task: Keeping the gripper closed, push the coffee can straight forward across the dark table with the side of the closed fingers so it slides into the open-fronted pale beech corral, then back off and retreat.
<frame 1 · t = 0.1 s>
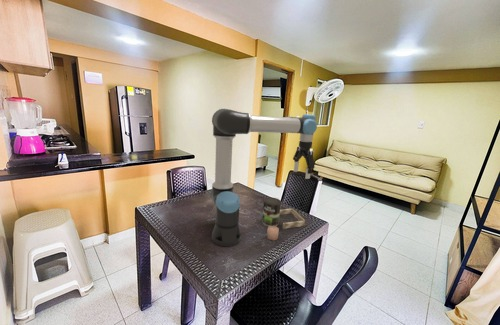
hand: (301, 174, 129), 28 cm above the table, fingers open, 13 cm apart
tan rounded block: (272, 237, 112), on the table
coffee can: (270, 222, 126), on the table
corral: (288, 220, 130), on the table
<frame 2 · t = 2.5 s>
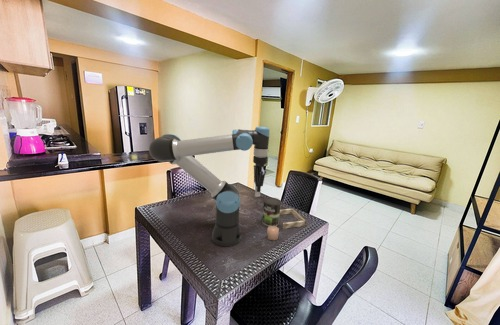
hand: (257, 196, 118), 18 cm above the table, fingers closed
nothing on the table moved.
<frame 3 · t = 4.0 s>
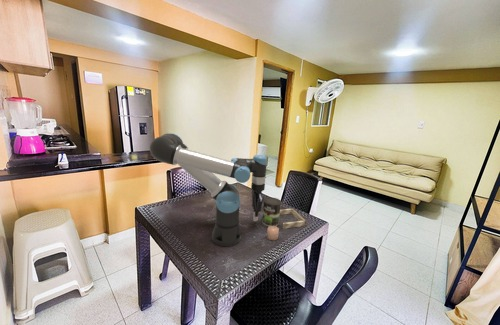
hand: (255, 220, 122), 2 cm above the table, fingers closed
nothing on the table moved.
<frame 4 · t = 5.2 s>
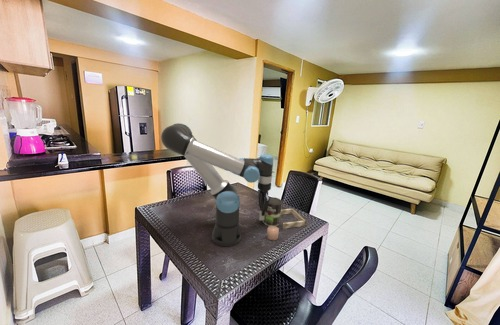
hand: (261, 219, 124), 3 cm above the table, fingers closed
coffee can: (271, 222, 126), on the table, touching gripper
everything else where it was.
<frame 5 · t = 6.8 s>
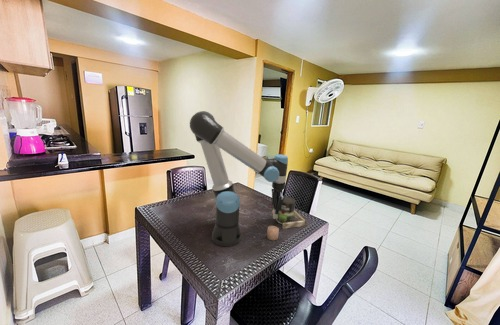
hand: (275, 217, 126), 3 cm above the table, fingers closed
coffee can: (284, 220, 129), on the table, touching gripper
everything else where it was.
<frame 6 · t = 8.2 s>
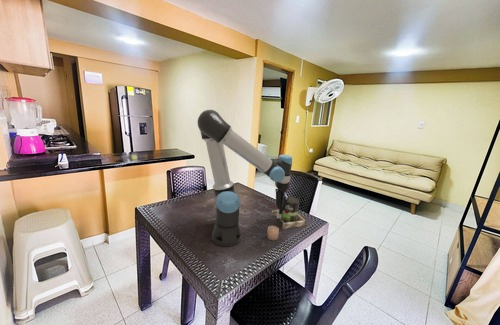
hand: (279, 217, 127), 2 cm above the table, fingers closed
coffee can: (288, 220, 130), on the table
everything else where it was.
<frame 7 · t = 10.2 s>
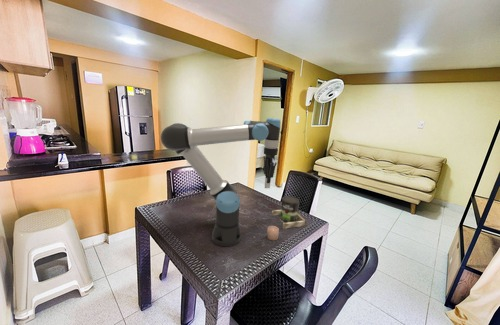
hand: (267, 187, 119), 23 cm above the table, fingers closed
nothing on the table moved.
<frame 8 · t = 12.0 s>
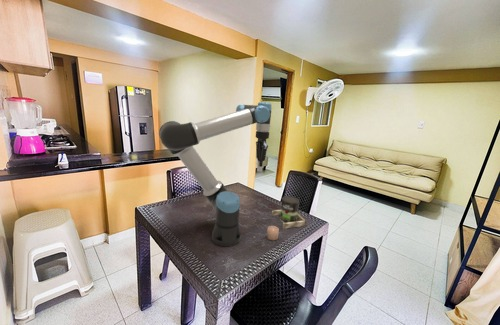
hand: (259, 171, 123), 30 cm above the table, fingers closed
nothing on the table moved.
at the end: coffee can inside the target area on the corral (1.8 cm from its centre), point 0.0 cm above the corral's base; coffee can tilted 0° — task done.
